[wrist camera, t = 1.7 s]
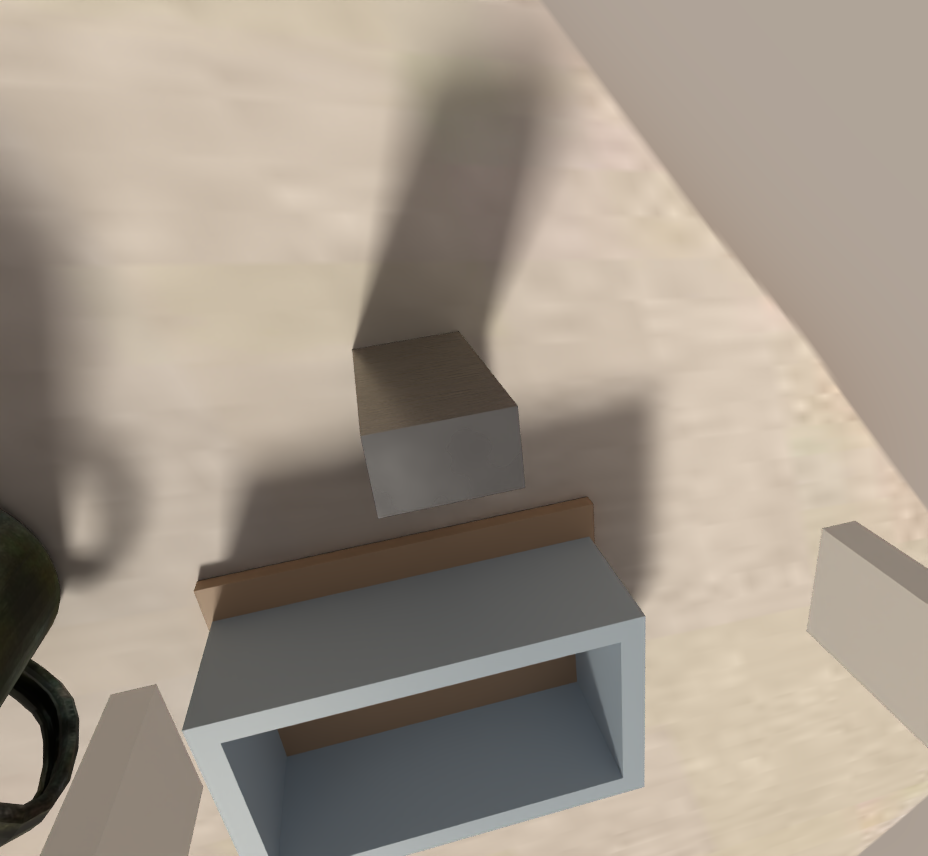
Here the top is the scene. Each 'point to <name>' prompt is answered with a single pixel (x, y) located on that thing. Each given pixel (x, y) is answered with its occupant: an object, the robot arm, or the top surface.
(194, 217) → the top surface
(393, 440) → the brushed grey block
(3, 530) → the mug
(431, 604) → the box
